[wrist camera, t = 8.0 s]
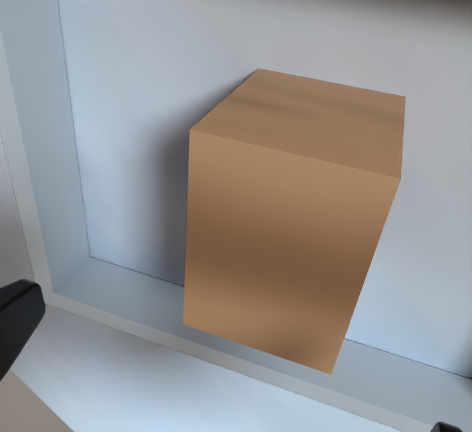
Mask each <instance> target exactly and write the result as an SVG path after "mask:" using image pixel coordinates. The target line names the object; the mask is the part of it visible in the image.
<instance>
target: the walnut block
mask: <svg viewBox="0 0 472 432" xmlns="http://www.w3.org/2000/svg"><path fill="white" fill-rule="evenodd" d="M404 114H405V97H404V96H399V95H394V94H388V93H383V92H378V91H373V90H368V89H362V88H357V87H352V86H347V85H342V84H337V83H331V82H326V81H321V80H316V79H311V78H306V77H300V76H295V75H290V74H285V73H280V72H274V71H269V70H264V69H258V70H257V71H255V72H254V73H253V74H252V75H251V76H250V77H249V78H248V79H246V80H245V81H244V82H243V83H242V84H241V85H240V86H238V87H237V88H236V89H235V90H234V91H233V92H232V93H230V94H229V95H228V96H227V97H226V98H225V99H224V100H223V101H221V102H220V103H219V104H218V105H217V106H216V107H215V108H213V109H212V110H211V111H210V112H209V113H208V114H207V115H205V116H204V117H203V118H202V119H201V120H200V121H199V122H198V123H196V124H195V125H194V126H193V127H192V128H191V129H190V133H189V163H188V193H187V223H186V253H185V283H184V313H183V324H184V325H187V326H190V327H193V328H195V329H198V330H201V331H204V332H207V333H210V334H213V335H216V336H219V337H222V338H225V339H228V340H231V341H234V342H237V343H239V344H242V345H245V346H248V347H251V348H254V349H257V350H260V351H263V352H266V353H269V354H272V355H275V356H278V357H281V358H283V359H286V360H289V361H292V362H295V363H298V364H301V365H304V366H307V367H310V368H313V369H316V370H319V371H322V372H325V373H327V374H330V375H331V374H332V371H333V368H334V365H335V363H336V360H337V357H338V354H339V351H340V349H341V346H342V343H343V340H344V337H345V334H346V332H347V329H348V326H349V323H350V320H351V317H352V315H353V312H354V309H355V306H356V303H357V300H358V298H359V295H360V292H361V289H362V286H363V284H364V281H365V278H366V275H367V272H368V269H369V267H370V264H371V261H372V258H373V255H374V252H375V250H376V247H377V244H378V241H379V238H380V236H381V233H382V230H383V227H384V224H385V221H386V219H387V216H388V213H389V210H390V207H391V204H392V202H393V199H394V196H395V193H396V190H397V187H398V185H399V182H400V179H401V163H402V147H403V130H404Z"/></svg>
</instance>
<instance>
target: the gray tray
mask: <svg viewBox="0 0 472 432" xmlns="http://www.w3.org/2000/svg"><path fill="white" fill-rule="evenodd" d="M0 132H1V136H2V141H3V145H4V149H5V154H6V158H7V163H8V167H9V171H10V176H11V180H12V184H13V189H14V193H15V197H16V202H17V206H18V210H19V215H20V219H21V223H22V228H23V232H24V236H25V241H26V245H27V250H28V254H29V258H30V263H31V267H32V271H33V276H34V280H35V282H36V283H38V284H39V285H40V286H41V289H42V293H43V298H44V302H45V304H47V305H50V306H53V307H56V308H59V309H61V310H64V311H67V312H70V313H73V314H75V315H78V316H81V317H84V318H87V319H89V320H92V321H95V322H98V323H101V324H103V325H106V326H109V327H112V328H115V329H117V330H120V331H123V332H126V333H129V334H131V335H134V336H137V337H140V338H143V339H145V340H148V341H151V342H154V343H157V344H159V345H162V346H165V347H168V348H171V349H173V350H176V351H179V352H182V353H185V354H187V355H190V356H193V357H196V358H199V359H201V360H204V361H207V362H210V363H212V364H215V365H218V366H221V367H224V368H226V369H229V370H232V371H235V372H238V373H240V374H243V375H246V376H249V377H252V378H254V379H257V380H260V381H263V382H266V383H268V384H271V385H274V386H277V387H280V388H282V389H285V390H288V391H291V392H294V393H296V394H299V395H302V396H305V397H308V398H310V399H313V400H316V401H319V402H322V403H324V404H327V405H330V406H333V407H336V408H338V409H341V410H344V411H347V412H350V413H352V414H355V415H358V416H361V417H364V418H366V419H369V420H372V421H375V422H378V423H380V424H383V425H386V426H389V427H392V428H394V429H397V430H400V431H403V432H430V431H431V430H432V428H433V427H434V425H435V424H436V423H437V422H439V421H441V422H445V423H447V424H450V425H453V426H456V427H458V428H460V429H461V430H462V431H463V432H472V380H471V379H468V378H465V377H462V376H459V375H456V374H453V373H450V372H447V371H443V370H440V369H437V368H434V367H431V366H428V365H425V364H422V363H419V362H415V361H412V360H409V359H406V358H403V357H400V356H397V355H394V354H391V353H387V352H384V351H381V350H378V349H375V348H372V347H369V346H366V345H363V344H359V343H356V342H353V341H350V340H347V339H344V340H343V343H342V346H341V349H340V351H339V354H338V357H337V360H336V363H335V365H334V368H333V371H332V374H331V375H330V374H327V373H325V372H322V371H319V370H316V369H313V368H310V367H307V366H304V365H301V364H298V363H295V362H292V361H289V360H286V359H283V358H281V357H278V356H275V355H272V354H269V353H266V352H263V351H260V350H257V349H254V348H251V347H248V346H245V345H242V344H239V343H237V342H234V341H231V340H228V339H225V338H222V337H219V336H216V335H213V334H210V333H207V332H204V331H201V330H198V329H195V328H193V327H190V326H187V325H184V324H183V313H184V287H182V286H179V285H176V284H173V283H170V282H167V281H164V280H161V279H157V278H154V277H151V276H148V275H145V274H142V273H139V272H136V271H133V270H129V269H126V268H123V267H120V266H117V265H114V264H111V263H108V262H105V261H101V260H98V259H95V258H92V257H90V253H89V245H88V237H87V229H86V221H85V213H84V205H83V197H82V189H81V181H80V173H79V165H78V157H77V150H76V142H75V134H74V126H73V118H72V110H71V102H70V94H69V86H68V78H67V70H66V62H65V54H64V46H63V38H62V30H61V22H60V14H59V7H58V0H0Z"/></svg>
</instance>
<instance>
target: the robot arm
mask: <svg viewBox="0 0 472 432" xmlns="http://www.w3.org/2000/svg"><path fill="white" fill-rule="evenodd" d="M45 308H46V307H45V302H44V298H43V293H42V289H41V286H40V285H39V284H38V283H36V282H33V281H30V280H26V279H22V280H19V281H16V282H14V283H11V284H9V285H6V286H4V287H2V288H0V381H1V380H2V378H3V377H4V376H5V374H6V373H7V372H8V370H9V369H10V367H11V366H12V364H13V363H14V361H15V360H16V358H17V357H18V355H19V354H20V352H21V351H22V349H23V347H24V346H25V344H26V343H27V341H28V340H29V338H30V337H31V335H32V334H33V332H34V330H35V329H36V327H37V326H38V324H39V323H40V321H41V320H42V318H43V316H44V314H45ZM430 432H463V431H462V430H461V429H460V428H458V427H456V426H453V425H450V424H447V423H445V422H441V421H439V422H437V423H436V424H435V425H434V427H433V428H432V430H431V431H430Z"/></svg>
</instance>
